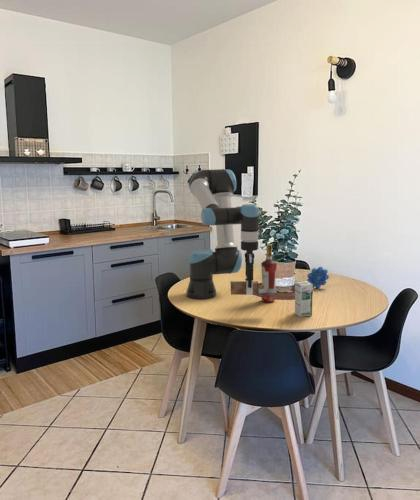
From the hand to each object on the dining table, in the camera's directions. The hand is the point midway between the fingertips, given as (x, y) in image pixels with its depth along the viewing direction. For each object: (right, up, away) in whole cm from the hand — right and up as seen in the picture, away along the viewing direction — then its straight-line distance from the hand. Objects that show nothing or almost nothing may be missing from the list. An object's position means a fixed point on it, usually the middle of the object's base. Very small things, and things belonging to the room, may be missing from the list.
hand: (249, 292), depth 195 cm
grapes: (+40, -2, +44) cm, 60 cm away
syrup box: (+24, -10, +1) cm, 26 cm away
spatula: (+2, 0, 0) cm, 2 cm away
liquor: (+11, -6, +21) cm, 25 cm away
